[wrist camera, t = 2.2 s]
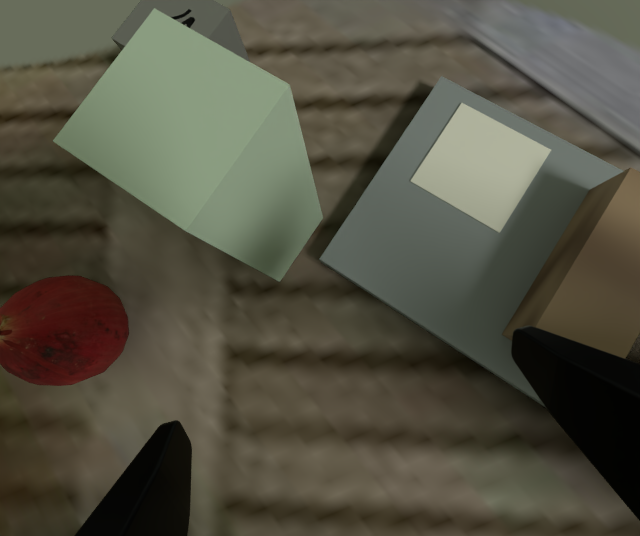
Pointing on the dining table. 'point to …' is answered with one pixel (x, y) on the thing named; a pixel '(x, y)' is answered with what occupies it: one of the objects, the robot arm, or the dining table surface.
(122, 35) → the dice cube
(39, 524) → the dining table surface
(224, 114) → the post
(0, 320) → the onion
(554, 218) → the board
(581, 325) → the beam
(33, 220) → the dining table surface
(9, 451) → the dining table surface
